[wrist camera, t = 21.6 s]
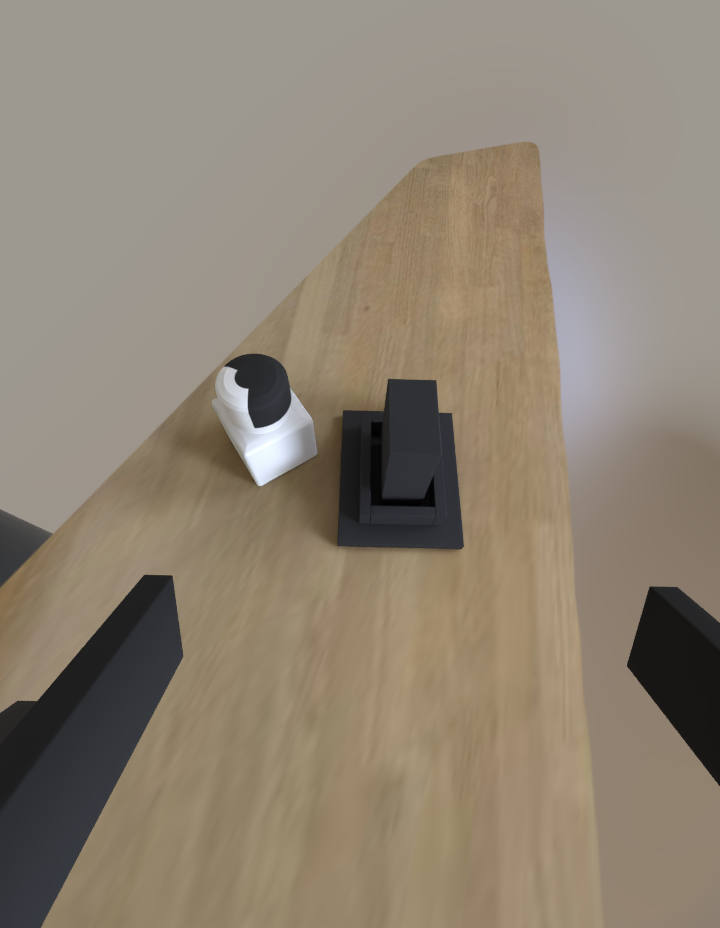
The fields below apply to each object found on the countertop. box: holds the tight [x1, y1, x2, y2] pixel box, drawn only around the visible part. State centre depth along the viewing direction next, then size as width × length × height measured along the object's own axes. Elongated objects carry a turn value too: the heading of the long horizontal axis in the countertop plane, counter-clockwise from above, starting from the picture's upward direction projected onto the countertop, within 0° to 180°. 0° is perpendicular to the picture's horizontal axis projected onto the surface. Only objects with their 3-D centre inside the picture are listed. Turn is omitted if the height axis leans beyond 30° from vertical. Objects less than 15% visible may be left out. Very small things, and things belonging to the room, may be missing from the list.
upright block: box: [380, 379, 442, 506], centre depth 38 cm, size 4×7×11 cm, turn 179°
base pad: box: [338, 410, 464, 549], centre depth 43 cm, size 12×15×4 cm
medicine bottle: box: [212, 354, 317, 486], centre depth 40 cm, size 7×7×12 cm
